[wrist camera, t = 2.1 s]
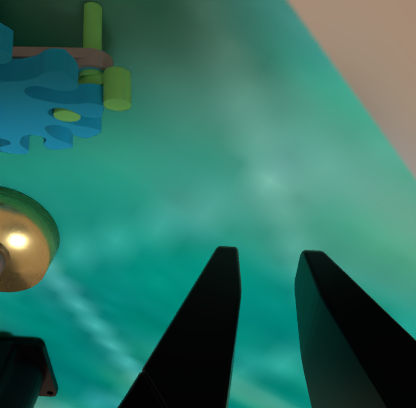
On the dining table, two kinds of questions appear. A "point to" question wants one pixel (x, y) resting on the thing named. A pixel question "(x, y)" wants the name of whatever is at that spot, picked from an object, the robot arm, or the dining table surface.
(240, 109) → the dining table surface
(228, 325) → the robot arm
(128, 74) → the gear
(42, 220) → the gold rounded dome
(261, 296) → the dining table surface
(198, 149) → the dining table surface
